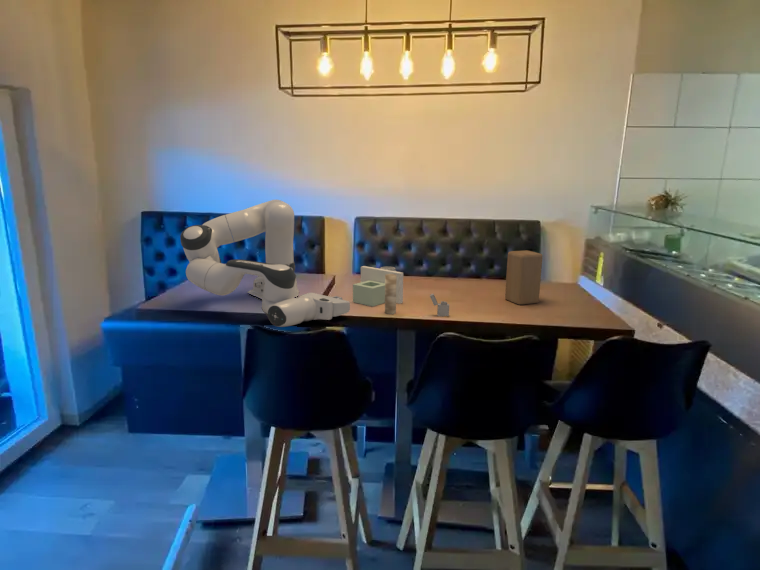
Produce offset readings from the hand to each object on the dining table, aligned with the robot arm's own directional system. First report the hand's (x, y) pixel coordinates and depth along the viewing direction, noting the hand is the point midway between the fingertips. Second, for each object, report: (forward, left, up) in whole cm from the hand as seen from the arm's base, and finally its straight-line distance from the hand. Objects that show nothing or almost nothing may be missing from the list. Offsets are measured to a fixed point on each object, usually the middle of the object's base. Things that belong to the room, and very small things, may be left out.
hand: (339, 298), depth 186 cm
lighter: (+29, +22, -6) cm, 37 cm away
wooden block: (+43, +61, -6) cm, 75 cm away
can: (-3, +32, -6) cm, 32 cm away
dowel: (+16, +10, -5) cm, 19 cm away
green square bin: (+1, +17, -4) cm, 17 cm away
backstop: (+1, +13, -5) cm, 14 cm away
